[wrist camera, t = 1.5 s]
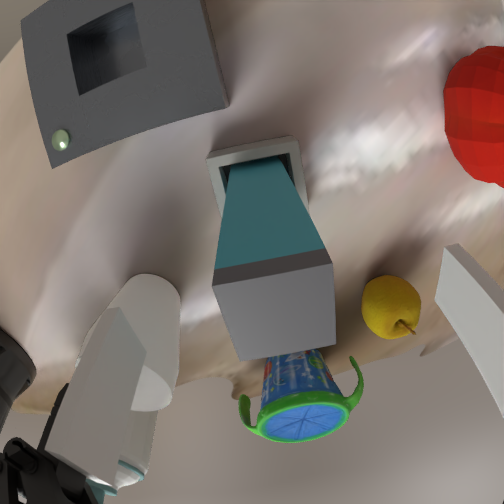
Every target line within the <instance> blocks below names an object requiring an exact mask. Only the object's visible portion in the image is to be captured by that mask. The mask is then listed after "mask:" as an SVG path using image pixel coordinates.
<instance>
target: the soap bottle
mask: <svg viewBox="0 0 504 504" xmlns="http://www.w3.org/2000/svg"><path fill="white" fill-rule="evenodd" d="M157 414H158V410H157V411H149V412H143V411H134V410H130V414H129V418H128V422H127V426H126V430H125V434H124V438H123V443H122V447H121V451H120V456H119V460H118V465H117V470H116V474H115V479H114V484H113V486H109V485H105V484H101V483H97V482H95V481H93V480H91V479H89V478H88V477H86V482H87V483H88V484H89V486H90V487H91V489H92V492H93V494H94V496H95V498H96V500H97V502H98V504H103V501H104V495H105V494H107V495H112V496H116V495H117V490H118V488H120V487H122V486H126V485H131V484H134V483H136V482H137V481H140V480H144V475H145V474H146V473H147V471H148V467H149V461H150V455H151V448H152V442H153V436H154V431H155V425H156V419H157Z"/></svg>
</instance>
